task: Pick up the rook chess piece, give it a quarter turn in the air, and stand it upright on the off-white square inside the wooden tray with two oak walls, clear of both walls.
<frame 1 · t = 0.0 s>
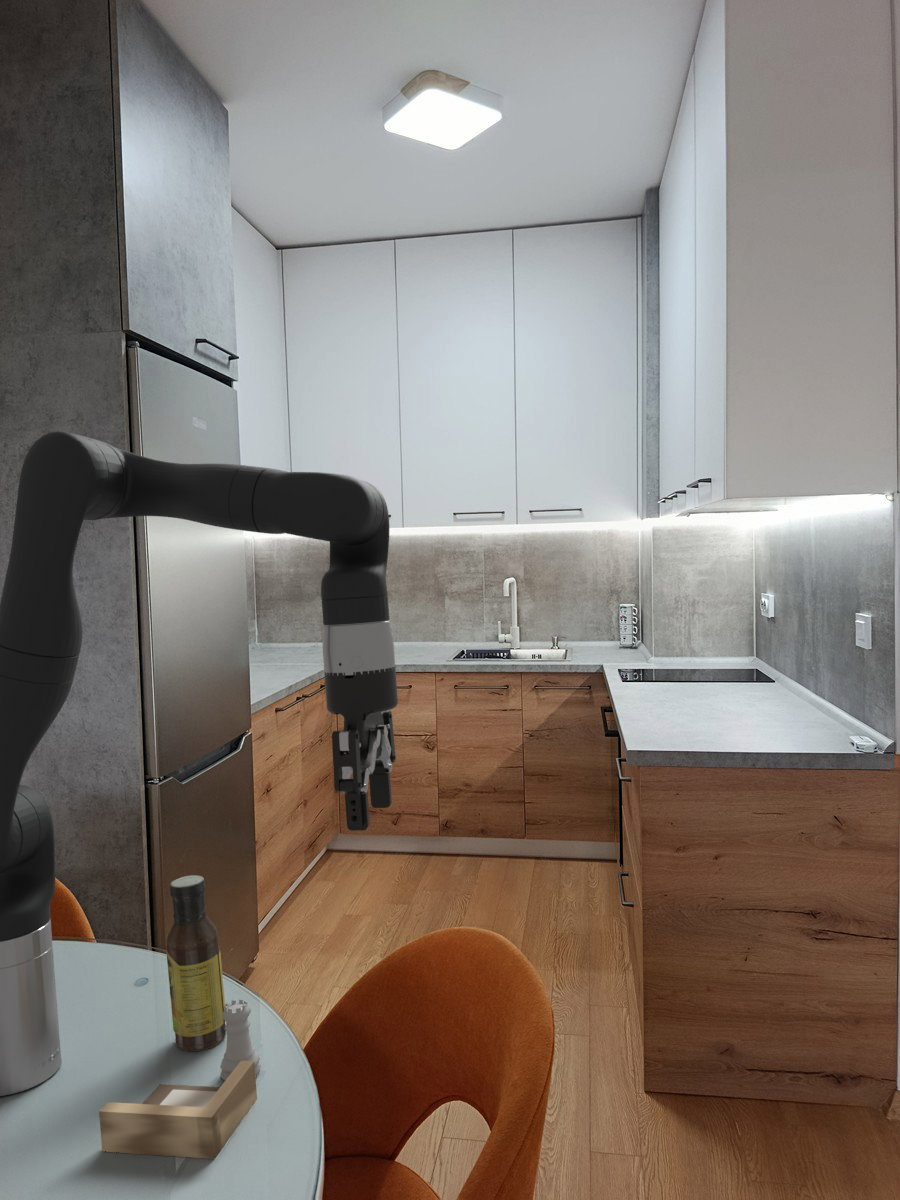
hand: (370, 817, 91), 29 cm above the table, tool pointing down, fingers open, 8 cm apart
sauce bottle: (200, 1042, 105), on the table
wooden tray: (184, 1110, 90), on the table
rook chess piece: (241, 1076, 97), on the table
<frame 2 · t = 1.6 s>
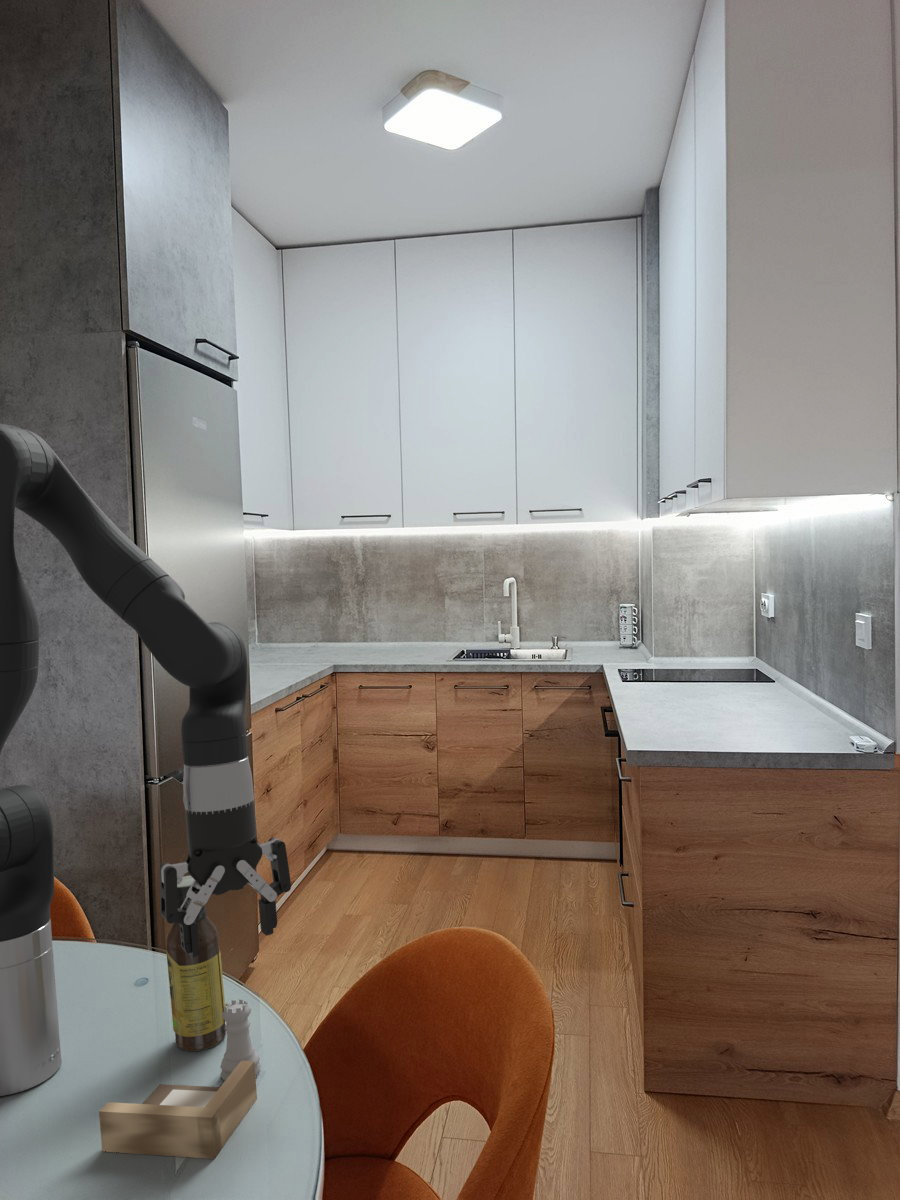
hand: (231, 943, 96), 15 cm above the table, tool pointing down, fingers open, 8 cm apart
nothing on the table moved.
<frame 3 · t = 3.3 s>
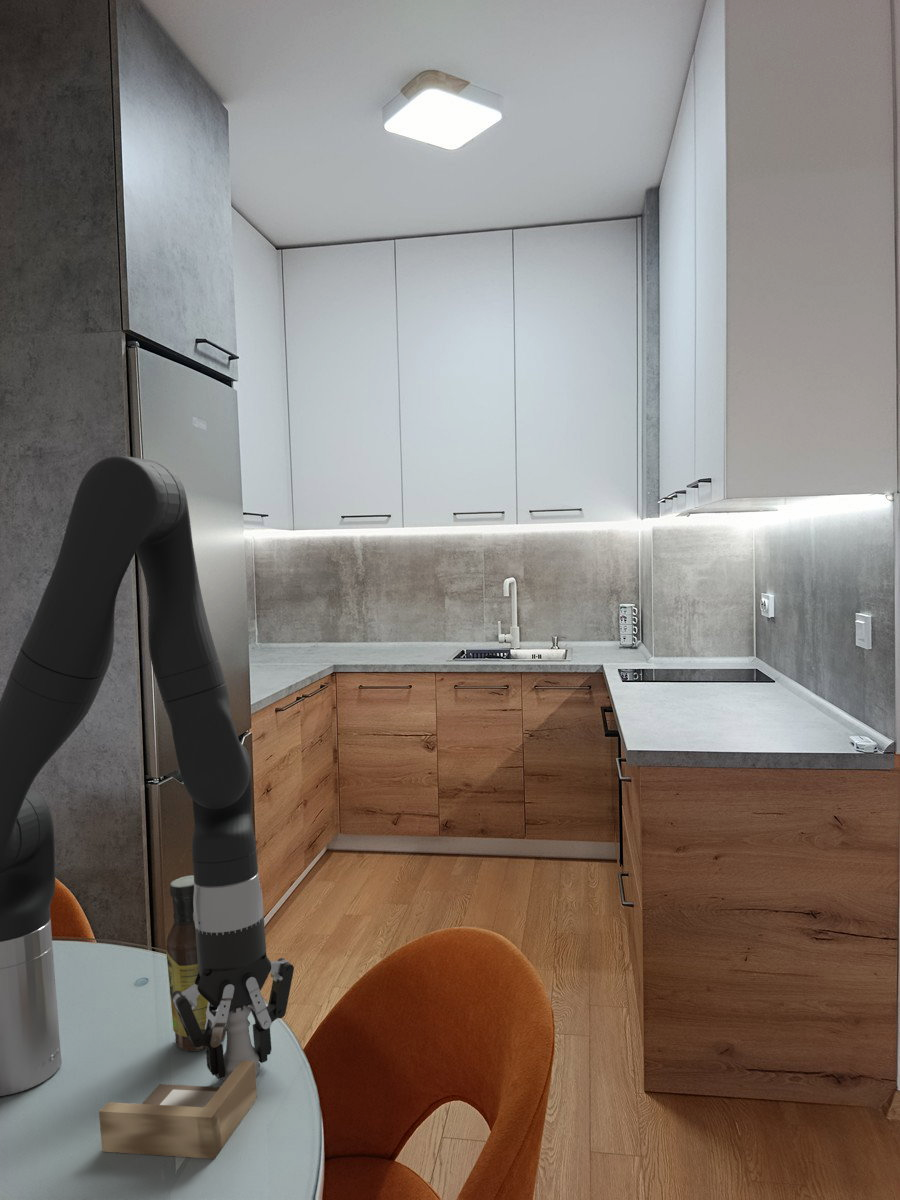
hand: (240, 1066, 97), 1 cm above the table, tool pointing down, fingers closed on rook chess piece, 4 cm apart
rook chess piece: (241, 1076, 97), on the table, touching gripper
everything else where it was.
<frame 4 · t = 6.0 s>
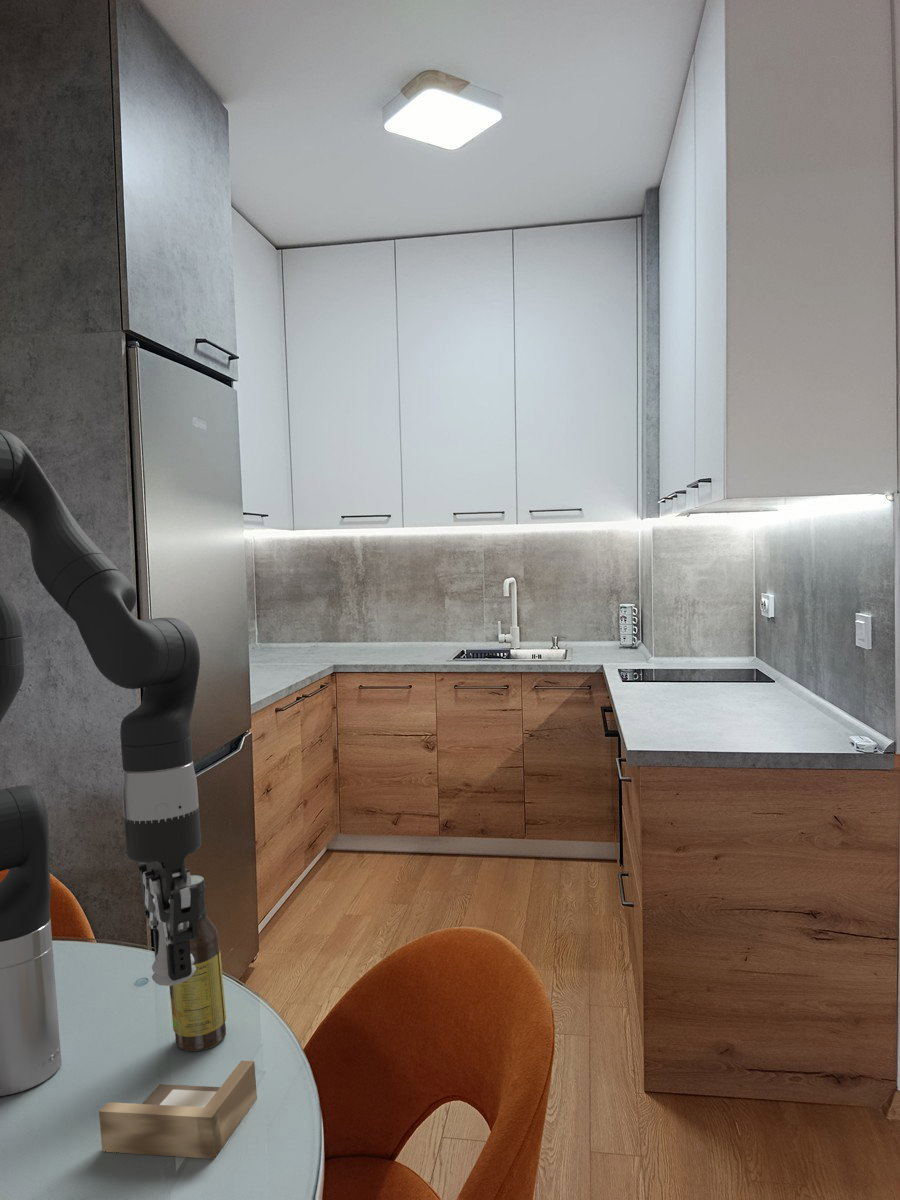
hand: (173, 968, 90), 15 cm above the table, tool pointing down, fingers closed on rook chess piece, 4 cm apart
rook chess piece: (174, 979, 90), point 14 cm above the table, touching gripper
everything else where it was.
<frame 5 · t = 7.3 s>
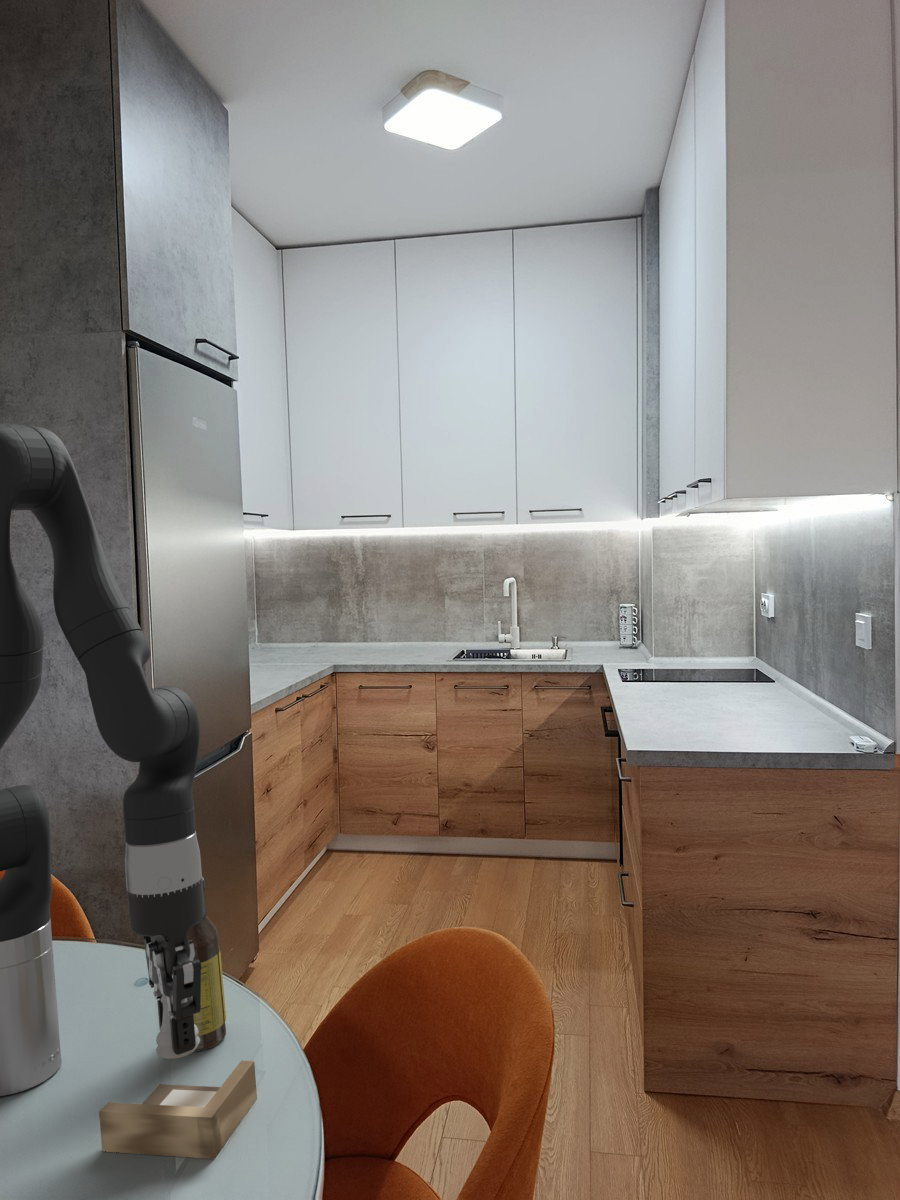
hand: (177, 1040, 90), 8 cm above the table, tool pointing down, fingers closed on rook chess piece, 4 cm apart
rook chess piece: (178, 1051, 90), point 7 cm above the table, touching gripper
everything else where it was.
when the fingers open (3 cm above the table, at t = 8.6 s): rook chess piece drops 1 cm, resting on wooden tray.
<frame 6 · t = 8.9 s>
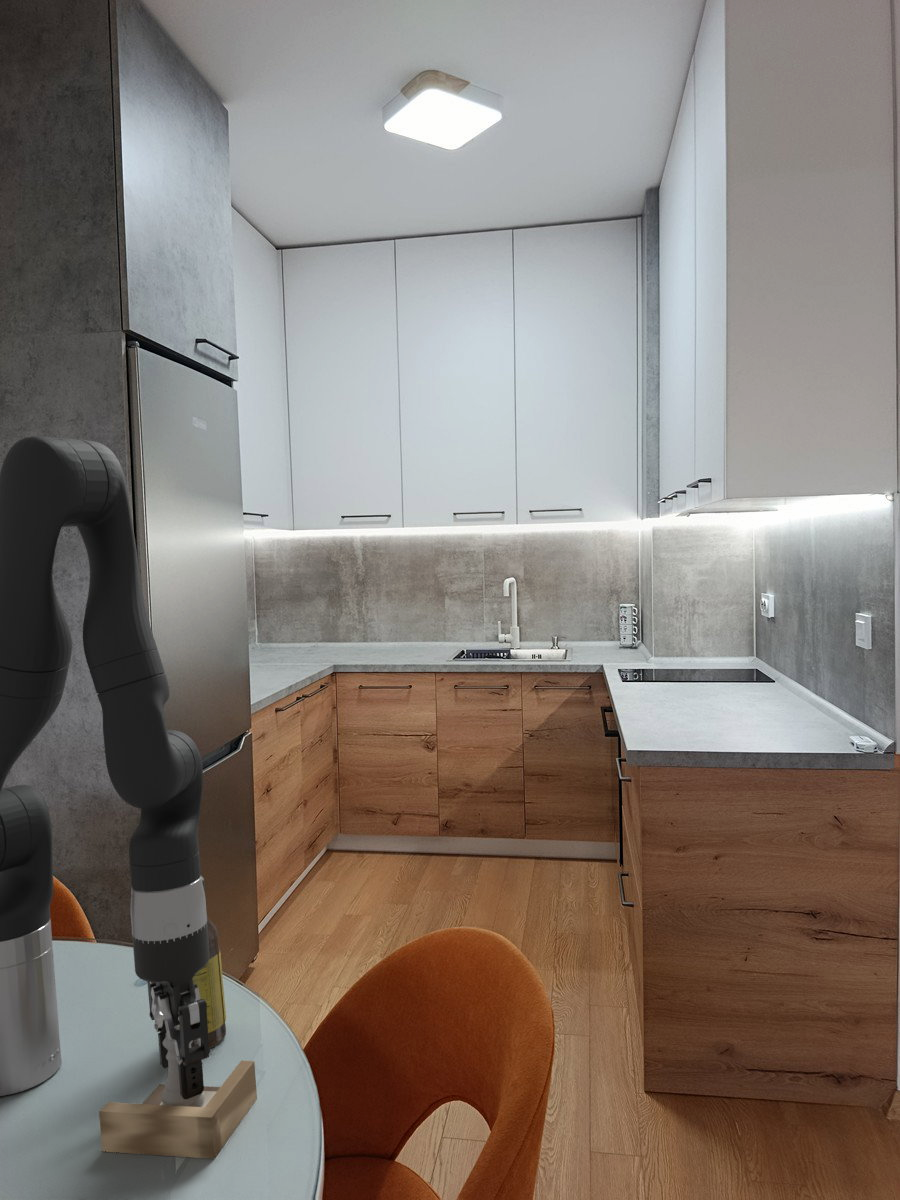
hand: (181, 1078, 90), 3 cm above the table, tool pointing down, fingers open, 7 cm apart
rook chess piece: (183, 1107, 90), resting on wooden tray
everything else where it was.
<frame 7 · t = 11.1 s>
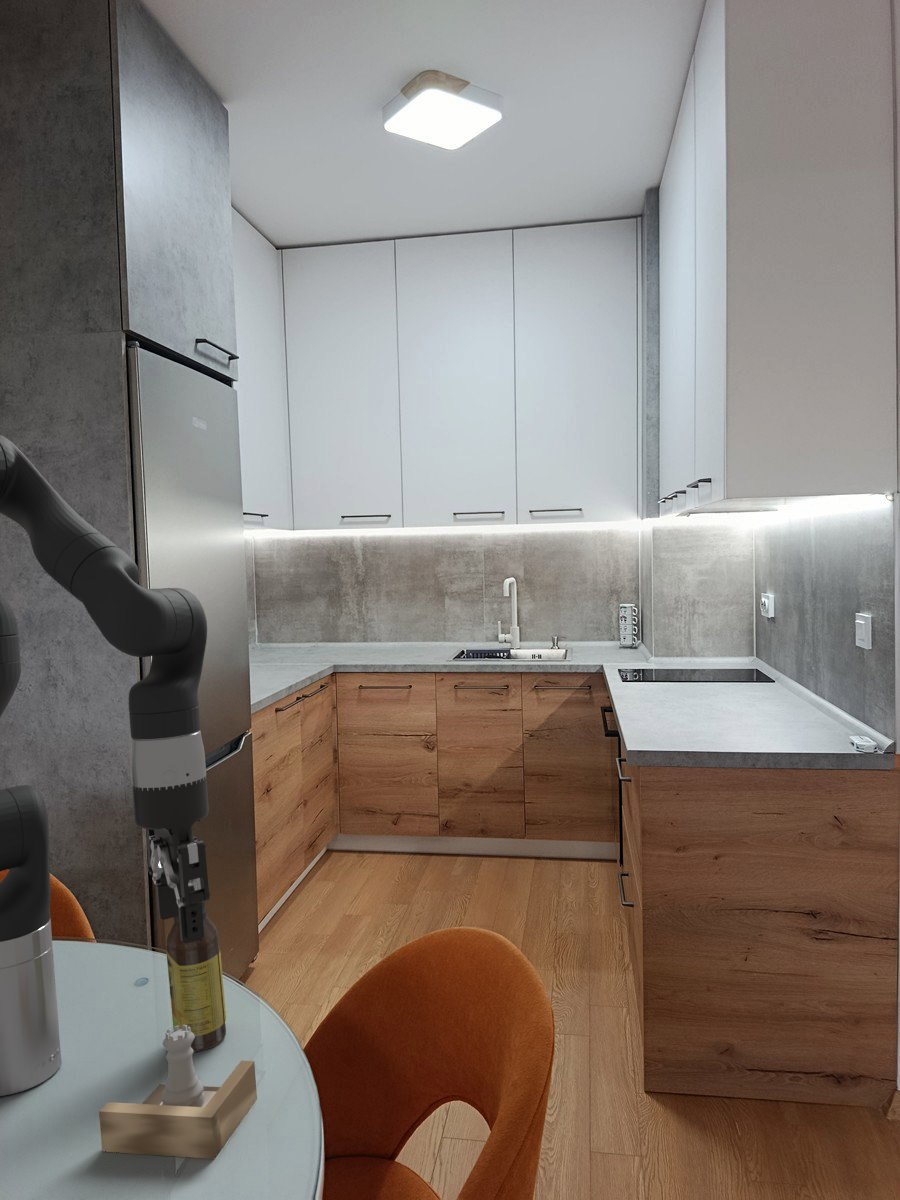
hand: (180, 928, 91), 19 cm above the table, tool pointing down, fingers open, 8 cm apart
nothing on the table moved.
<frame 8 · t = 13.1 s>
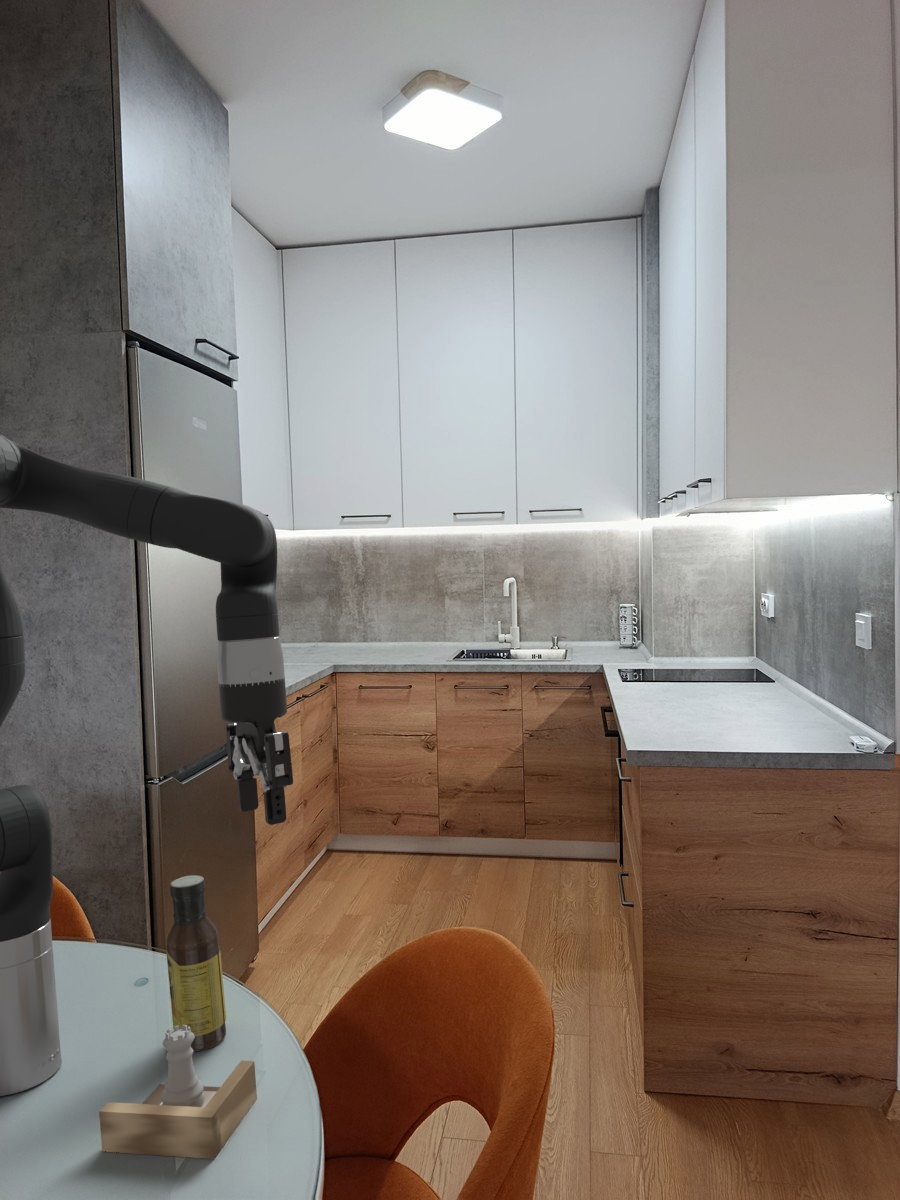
hand: (262, 816, 100), 28 cm above the table, tool pointing down, fingers open, 8 cm apart
nothing on the table moved.
at the end: rook chess piece 0.0 cm off-centre on the wooden tray, point 0.3 cm above the wooden tray's base; rook chess piece tilted 0°; the gripper is holding nothing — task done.
